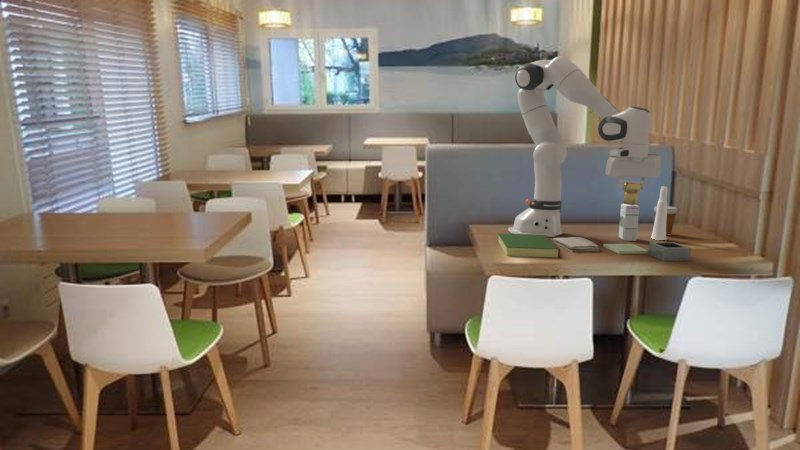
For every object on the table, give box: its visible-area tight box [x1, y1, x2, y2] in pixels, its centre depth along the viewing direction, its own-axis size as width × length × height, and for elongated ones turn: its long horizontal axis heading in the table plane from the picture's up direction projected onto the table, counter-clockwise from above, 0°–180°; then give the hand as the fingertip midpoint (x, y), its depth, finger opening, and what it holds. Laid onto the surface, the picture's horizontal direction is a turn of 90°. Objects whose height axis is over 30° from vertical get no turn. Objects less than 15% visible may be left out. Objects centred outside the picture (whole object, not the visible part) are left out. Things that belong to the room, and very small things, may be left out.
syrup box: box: [617, 203, 640, 242], centre depth 243 cm, size 6×6×14 cm
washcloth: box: [551, 236, 600, 253], centre depth 227 cm, size 12×18×3 cm, turn 11°
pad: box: [602, 243, 649, 255], centre depth 224 cm, size 12×12×1 cm
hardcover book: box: [497, 232, 561, 258], centre depth 221 cm, size 25×19×4 cm
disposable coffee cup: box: [653, 205, 678, 235], centre depth 256 cm, size 10×10×12 cm
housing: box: [647, 241, 692, 262], centre depth 214 cm, size 10×10×4 cm
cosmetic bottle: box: [650, 185, 669, 241], centre depth 244 cm, size 6×6×22 cm
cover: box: [622, 181, 641, 206], centre depth 220 cm, size 6×6×8 cm
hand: (631, 189), depth 220 cm, fingers closed on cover, 6 cm apart
